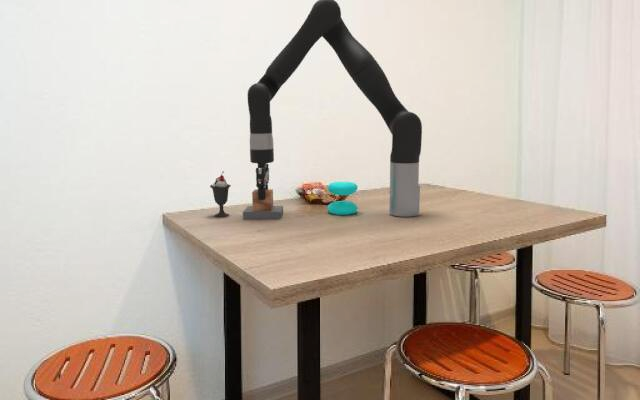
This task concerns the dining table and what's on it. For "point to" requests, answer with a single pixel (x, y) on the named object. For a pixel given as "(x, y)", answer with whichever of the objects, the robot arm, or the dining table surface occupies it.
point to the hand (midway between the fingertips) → (263, 197)
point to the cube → (263, 201)
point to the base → (263, 213)
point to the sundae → (220, 194)
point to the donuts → (342, 206)
